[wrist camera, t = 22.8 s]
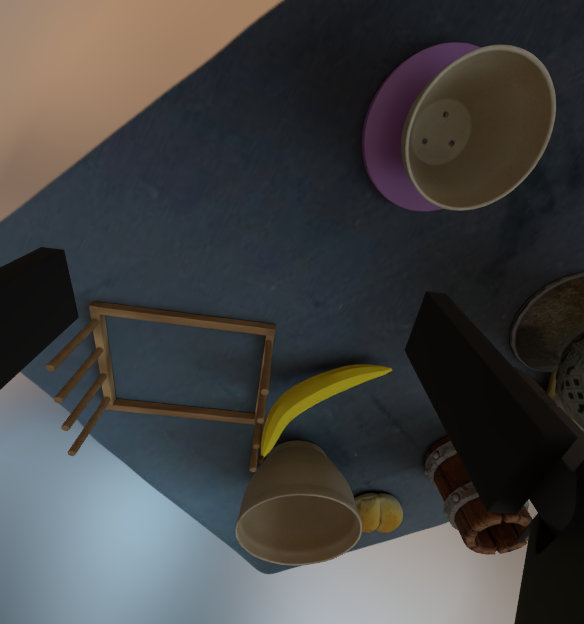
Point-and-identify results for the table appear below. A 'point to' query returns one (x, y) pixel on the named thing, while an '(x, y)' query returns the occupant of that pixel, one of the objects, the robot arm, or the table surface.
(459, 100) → the flower pot
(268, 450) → the banana
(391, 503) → the bread roll
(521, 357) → the lantern
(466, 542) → the mug
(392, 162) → the lid
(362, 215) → the table surface
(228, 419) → the rack
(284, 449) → the planter bowl
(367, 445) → the table surface
